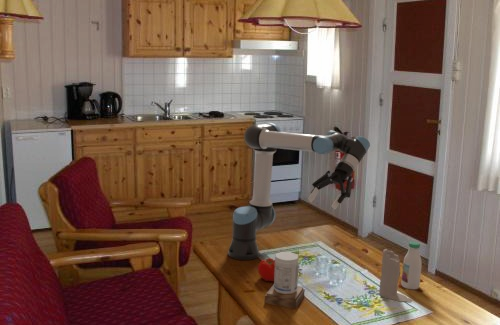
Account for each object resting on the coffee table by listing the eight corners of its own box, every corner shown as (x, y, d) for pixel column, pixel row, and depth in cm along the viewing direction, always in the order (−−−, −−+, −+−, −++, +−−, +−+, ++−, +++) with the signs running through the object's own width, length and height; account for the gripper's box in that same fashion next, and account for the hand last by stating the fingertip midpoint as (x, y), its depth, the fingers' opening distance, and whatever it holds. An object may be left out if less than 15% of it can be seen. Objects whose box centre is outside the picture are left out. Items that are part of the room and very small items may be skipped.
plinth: (264, 302, 215) (265, 293, 215) (274, 290, 227) (274, 281, 227) (296, 309, 211) (296, 299, 210) (304, 295, 223) (304, 286, 222)
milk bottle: (419, 284, 240) (424, 241, 236) (418, 291, 232) (423, 247, 229) (401, 281, 242) (405, 239, 238) (400, 288, 235) (404, 244, 231)
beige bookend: (409, 304, 219) (414, 257, 215) (376, 295, 226) (380, 250, 223) (414, 298, 225) (419, 252, 222) (382, 289, 232) (386, 245, 229)
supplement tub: (286, 283, 225) (287, 249, 222) (302, 291, 218) (304, 256, 215) (268, 288, 219) (270, 254, 216) (284, 297, 212) (286, 261, 209)
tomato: (261, 285, 232) (262, 266, 231) (254, 275, 243) (255, 256, 241) (284, 283, 235) (285, 264, 234) (276, 273, 246) (277, 255, 244)
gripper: (372, 177, 230) (347, 216, 223) (328, 166, 249) (304, 202, 242) (365, 166, 225) (339, 205, 219) (321, 156, 244) (296, 192, 237)
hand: (321, 204), depth 230 cm, fingers open, 13 cm apart
